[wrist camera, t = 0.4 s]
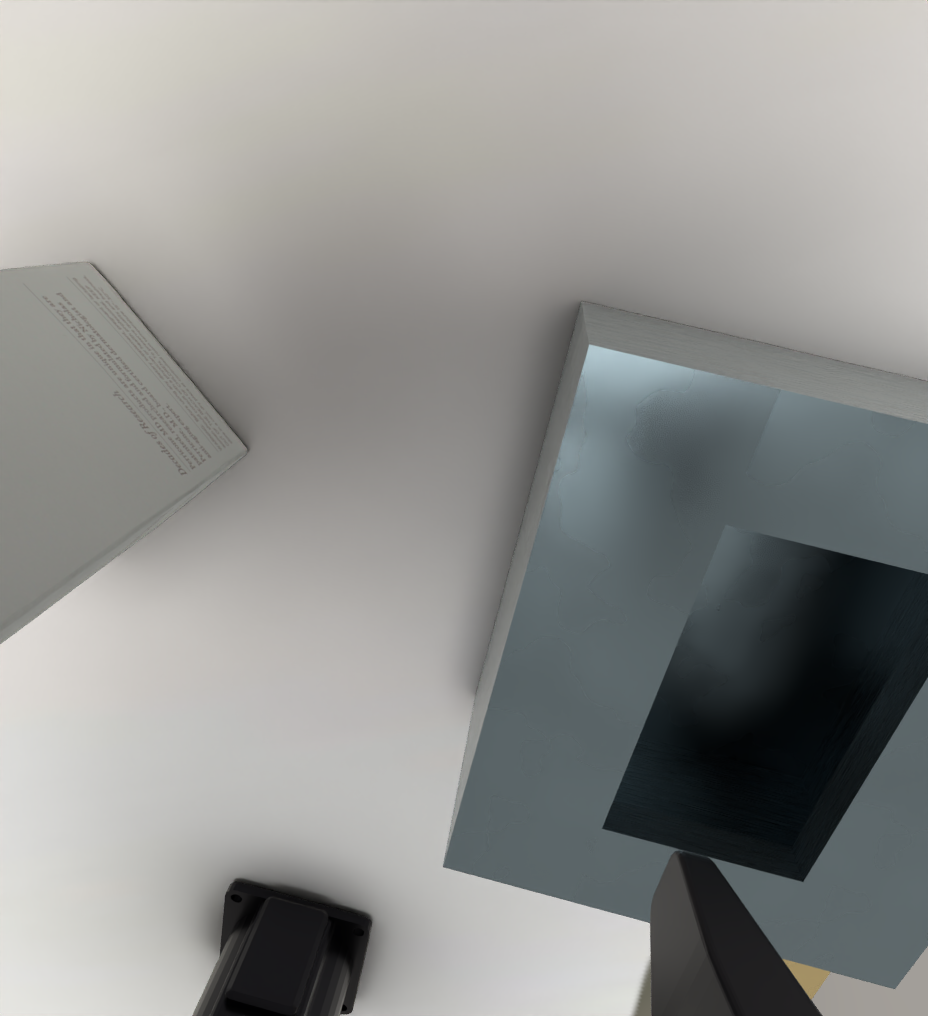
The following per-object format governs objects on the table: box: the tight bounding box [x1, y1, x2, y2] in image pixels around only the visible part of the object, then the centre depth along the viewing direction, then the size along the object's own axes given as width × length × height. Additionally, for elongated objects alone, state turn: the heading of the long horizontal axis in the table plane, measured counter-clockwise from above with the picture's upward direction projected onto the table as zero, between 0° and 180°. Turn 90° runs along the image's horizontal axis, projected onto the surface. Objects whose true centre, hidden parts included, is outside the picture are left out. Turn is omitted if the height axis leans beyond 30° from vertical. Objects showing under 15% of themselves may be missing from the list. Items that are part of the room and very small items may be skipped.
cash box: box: [443, 301, 928, 989], centre depth 18 cm, size 14×12×7 cm
